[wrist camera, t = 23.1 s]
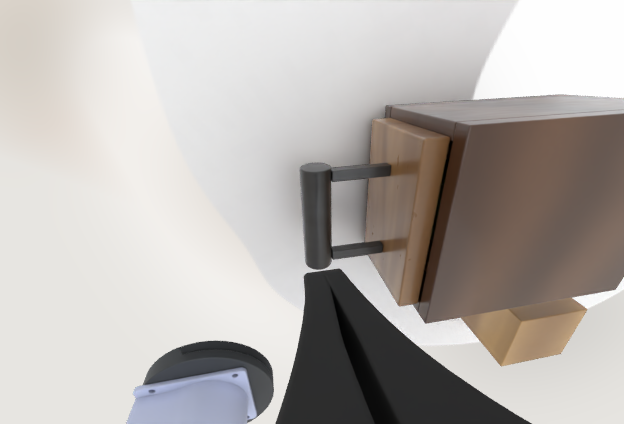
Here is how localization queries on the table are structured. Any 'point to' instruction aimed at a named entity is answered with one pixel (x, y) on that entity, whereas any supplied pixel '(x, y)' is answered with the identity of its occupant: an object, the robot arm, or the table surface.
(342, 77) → the table surface
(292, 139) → the table surface
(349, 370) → the robot arm
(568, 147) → the cabinet
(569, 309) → the wooden block
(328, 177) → the drawer
